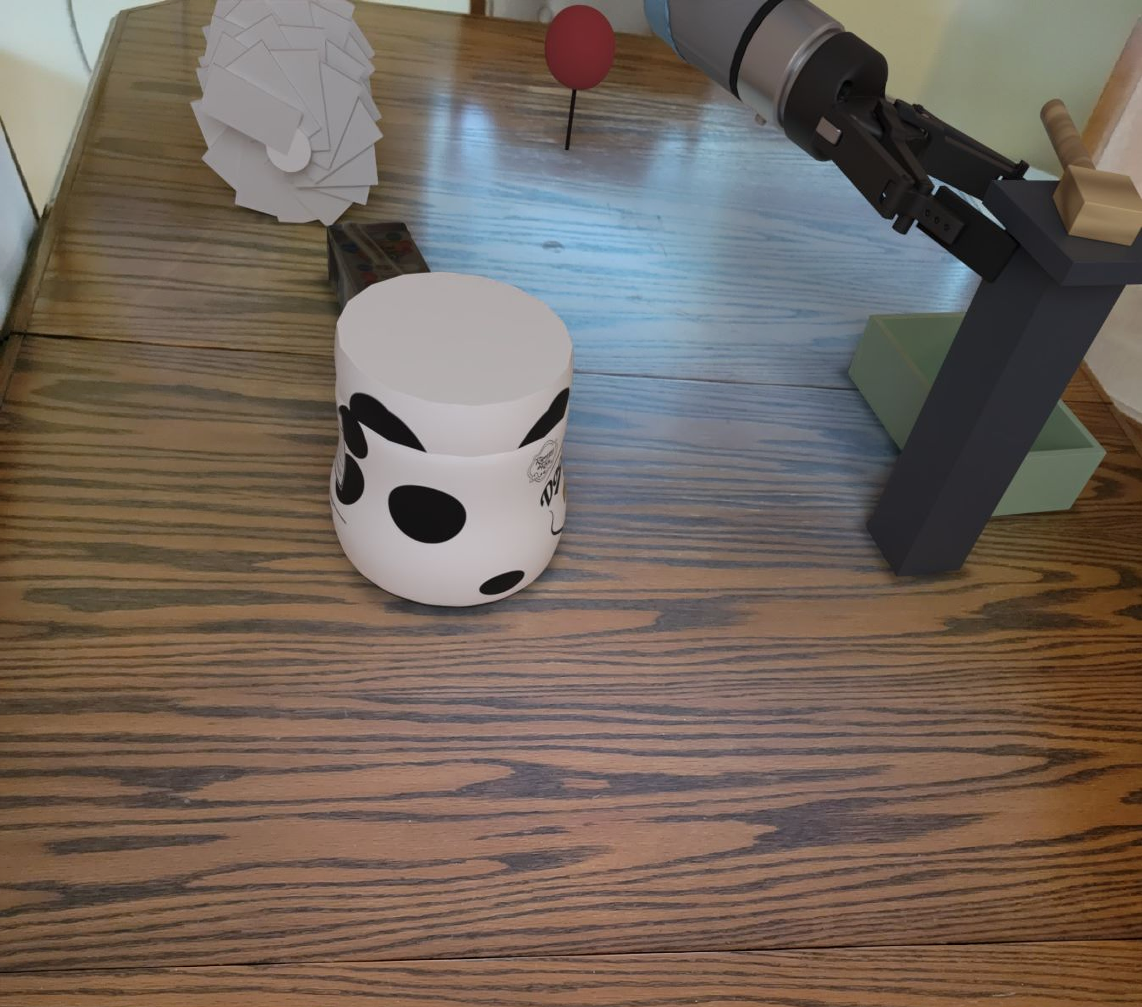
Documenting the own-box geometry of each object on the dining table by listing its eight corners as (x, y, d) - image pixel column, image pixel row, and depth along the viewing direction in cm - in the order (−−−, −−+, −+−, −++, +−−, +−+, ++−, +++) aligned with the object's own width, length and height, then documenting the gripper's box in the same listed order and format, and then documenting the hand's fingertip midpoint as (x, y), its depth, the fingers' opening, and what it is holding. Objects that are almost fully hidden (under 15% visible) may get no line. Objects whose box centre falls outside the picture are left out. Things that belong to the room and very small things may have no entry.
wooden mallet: (1130, 246, 62) (1149, 213, 61) (1067, 235, 62) (1085, 201, 61) (1073, 128, 73) (1088, 97, 71) (1019, 118, 73) (1032, 86, 71)
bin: (845, 378, 101) (870, 314, 96) (955, 373, 104) (985, 310, 99) (945, 525, 89) (980, 461, 84) (1066, 514, 93) (1107, 452, 87)
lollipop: (576, 177, 119) (595, 27, 107) (522, 153, 121) (535, 3, 109) (610, 157, 123) (632, 11, 111) (558, 134, 125) (574, -12, 113)
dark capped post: (978, 592, 85) (1183, 260, 62) (893, 601, 83) (1073, 262, 60) (924, 511, 90) (1094, 180, 68) (843, 518, 88) (991, 179, 66)
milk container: (603, 562, 81) (645, 356, 67) (435, 665, 72) (442, 454, 58) (457, 449, 87) (467, 237, 73) (286, 532, 78) (259, 311, 64)
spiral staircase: (335, 174, 120) (344, 278, 105) (181, 91, 111) (166, 192, 96) (401, 12, 109) (422, 102, 94) (236, -94, 100) (229, -14, 85)
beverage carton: (407, 278, 102) (407, 211, 96) (464, 394, 92) (468, 326, 86) (326, 284, 99) (322, 215, 94) (376, 403, 89) (375, 334, 84)
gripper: (866, 133, 86) (1069, 284, 80) (695, 140, 70) (931, 328, 65) (919, 33, 80) (1141, 189, 75) (746, 18, 65) (1008, 212, 60)
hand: (1043, 254), depth 70 cm, fingers open, 12 cm apart
